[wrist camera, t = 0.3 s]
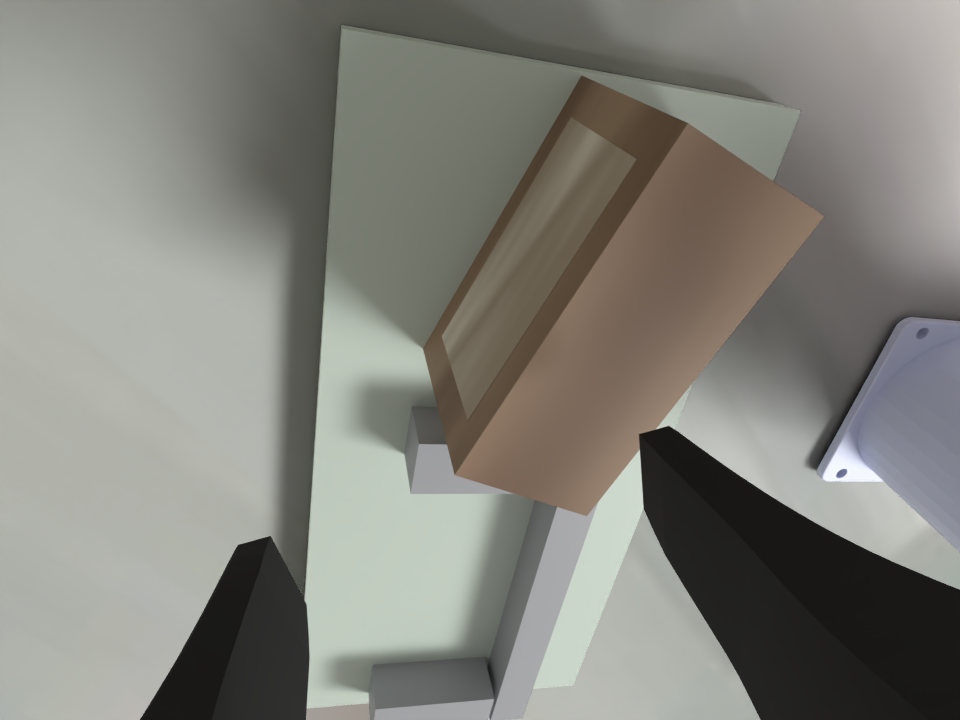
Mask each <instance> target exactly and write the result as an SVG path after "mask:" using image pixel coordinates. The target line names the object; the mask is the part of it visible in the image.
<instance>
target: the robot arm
mask: <svg viewBox="0 0 960 720" xmlns="http://www.w3.org/2000/svg"><path fill="white" fill-rule="evenodd" d="M639 444H640V460H641V475H642V491H643V506H644V510H645V512H646V515H647V517H648V519H649V521H650V524H651V526H652V528H653V530H654V532H655V535H656V537H657V539H658V541H659V543H660V545H661V547H662V549H663V551H664V553H665V555H666V557H667V559H668V560H669V562H670V564H671V565H672V567H673V569H674V570H675V572H676V573H677V575H678V577H679V578H680V580H681V582H682V583H683V585H684V587H685V588H686V590H687V591H688V593H689V595H690V596H691V598H692V599H693V601H694V603H695V604H696V606H697V608H698V609H699V611H700V612H701V614H702V616H703V617H704V619H705V620H706V622H707V624H708V625H709V627H710V628H711V630H712V632H713V633H714V635H715V637H716V638H717V640H718V641H719V643H720V645H721V646H722V648H723V649H724V651H725V653H726V654H727V656H728V658H729V659H730V661H731V663H732V665H733V667H734V668H735V670H736V672H737V674H738V675H739V677H740V679H741V681H742V683H743V685H744V687H745V689H746V691H747V693H748V695H749V697H750V699H751V701H752V703H753V705H754V707H755V709H756V711H757V713H758V715H759V717H760V719H761V720H960V590H959V589H956V588H954V587H951V586H949V585H946V584H944V583H941V582H939V581H936V580H934V579H932V578H929V577H927V576H925V575H922V574H920V573H918V572H915V571H913V570H910V569H908V568H906V567H903V566H901V565H899V564H896V563H894V562H892V561H890V560H887V559H885V558H883V557H881V556H879V555H877V554H874V553H872V552H870V551H868V550H866V549H864V548H862V547H860V546H858V545H856V544H854V543H852V542H850V541H848V540H846V539H844V538H842V537H840V536H838V535H836V534H834V533H833V532H831V531H829V530H827V529H825V528H823V527H822V526H820V525H818V524H816V523H814V522H813V521H811V520H809V519H807V518H806V517H804V516H802V515H801V514H799V513H797V512H796V511H794V510H792V509H791V508H789V507H787V506H785V505H784V504H782V503H781V502H779V501H777V500H776V499H774V498H773V497H771V496H769V495H768V494H766V493H765V492H763V491H762V490H760V489H759V488H757V487H756V486H754V485H753V484H751V483H750V482H748V481H747V480H745V479H744V478H742V477H740V476H739V475H738V474H736V473H735V472H733V471H732V470H730V469H729V468H727V467H726V466H724V465H723V464H722V463H720V462H719V461H717V460H716V459H715V458H713V457H712V456H710V455H709V454H708V453H706V452H705V451H703V450H702V449H701V448H699V447H698V446H697V445H695V444H694V443H692V442H691V441H690V440H688V439H687V438H686V437H684V436H683V435H682V434H680V433H679V432H677V431H676V430H675V429H673V428H672V427H670V426H666V427H663V428H659V429H656V430H652V431H648V432H645V433H641V434H639ZM817 475H818V476H819V477H820V478H821V479H822V480H823V481H877V482H885V483H886V484H887V485H888V486H889V487H890V488H891V489H892V490H893V491H895V492H896V493H897V494H898V495H899V496H900V497H901V498H902V499H903V500H904V501H905V502H906V503H907V504H908V505H910V506H911V507H912V508H913V509H914V510H915V511H916V512H917V513H918V514H919V515H920V516H921V517H922V518H923V519H925V520H926V521H927V522H928V523H929V524H930V525H931V526H932V527H933V528H934V529H935V530H936V531H937V532H938V533H940V534H941V535H942V536H943V537H944V538H945V539H946V540H947V541H948V542H949V543H950V544H951V545H952V546H953V547H955V548H956V549H957V550H958V551H959V552H960V321H953V320H941V319H929V318H917V317H908V318H905V319H903V320H901V321H900V322H899V323H898V324H897V325H896V327H895V328H894V330H893V332H892V334H891V336H890V338H889V339H888V341H887V343H886V345H885V347H884V348H883V350H882V352H881V354H880V356H879V358H878V359H877V361H876V363H875V365H874V367H873V368H872V370H871V372H870V374H869V376H868V378H867V379H866V381H865V383H864V385H863V387H862V388H861V390H860V392H859V394H858V396H857V398H856V399H855V401H854V403H853V405H852V407H851V408H850V410H849V412H848V414H847V416H846V418H845V419H844V421H843V423H842V425H841V427H840V428H839V430H838V432H837V434H836V436H835V438H834V439H833V441H832V443H831V445H830V447H829V448H828V450H827V452H826V454H825V456H824V458H823V459H822V461H821V463H820V465H819V467H818V469H817ZM309 660H310V655H309V632H308V617H307V604H306V602H305V600H304V598H303V596H302V595H301V593H300V591H299V589H298V587H297V585H296V583H295V581H294V579H293V578H292V576H291V574H290V572H289V570H288V568H287V566H286V564H285V562H284V561H283V559H282V557H281V555H280V553H279V551H278V549H277V547H276V545H275V544H274V542H273V540H272V538H271V536H269V537H265V538H262V539H258V540H255V541H251V542H247V543H244V544H240V545H238V546H237V548H236V549H235V551H234V553H233V555H232V557H231V559H230V561H229V563H228V564H227V566H226V568H225V570H224V572H223V574H222V576H221V578H220V580H219V582H218V584H217V586H216V588H215V590H214V592H213V594H212V596H211V598H210V599H209V601H208V603H207V605H206V607H205V609H204V611H203V613H202V615H201V617H200V618H199V620H198V622H197V624H196V626H195V627H194V629H193V631H192V633H191V635H190V637H189V638H188V640H187V642H186V644H185V646H184V647H183V649H182V651H181V653H180V655H179V656H178V658H177V660H176V662H175V663H174V665H173V667H172V668H171V670H170V672H169V673H168V675H167V677H166V678H165V680H164V682H163V683H162V685H161V687H160V688H159V690H158V691H157V693H156V695H155V696H154V698H153V700H152V701H151V703H150V705H149V706H148V708H147V709H146V711H145V713H144V714H143V716H142V717H141V719H140V720H306V709H307V694H308V678H309Z"/></svg>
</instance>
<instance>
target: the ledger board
mask: <svg viewBox="0 0 960 720" xmlns="http://www.w3.org/2000/svg"><path fill="white" fill-rule="evenodd" d="M581 76H584V77H586V78H589V79H591V80H593V81H595V82H598V83H600V84H602V85H604V86H606V87H609V88H611V89H613V90H615V91H618V92H620V93H622V94H624V95H627V96H629V97H631V98H633V99H635V100H638V101H640V102H642V103H644V104H647V105H649V106H651V107H653V108H656V109H658V110H660V111H662V112H664V113H667V114H669V115H671V116H673V117H676V118H678V119H680V120H682V121H685V122H687V123H689V124H690V125H692V126H693V127H695V128H696V129H697V130H699V131H700V132H702V133H703V134H705V135H706V136H708V137H709V138H711V139H712V140H714V141H715V142H717V143H718V144H719V145H721V146H722V147H724V148H725V149H727V150H728V151H730V152H731V153H733V154H734V155H736V156H737V157H738V158H740V159H741V160H743V161H744V162H746V163H747V164H749V165H750V166H752V167H753V168H755V169H756V170H757V171H759V172H760V173H762V174H763V175H765V176H766V177H768V178H769V179H771V180H772V181H774V179H775V176H776V174H777V171H778V169H779V166H780V164H781V161H782V158H783V156H784V153H785V151H786V148H787V146H788V143H789V141H790V138H791V136H792V133H793V131H794V128H795V126H796V123H797V121H798V118H799V116H800V113H801V111H800V110H797V109H794V108H791V107H788V106H784V105H781V104H778V103H773V102H767V101H762V100H756V99H751V98H745V97H740V96H734V95H729V94H723V93H718V92H712V91H706V90H701V89H695V88H690V87H684V86H679V85H673V84H668V83H662V82H656V81H651V80H645V79H640V78H634V77H629V76H623V75H618V74H612V73H607V72H601V71H595V70H590V69H584V68H579V67H573V66H568V65H562V64H557V63H551V62H545V61H540V60H534V59H529V58H523V57H518V56H512V55H507V54H501V53H496V52H490V51H484V50H479V49H473V48H468V47H462V46H457V45H451V44H446V43H440V42H435V41H429V40H423V39H418V38H412V37H407V36H401V35H396V34H390V33H385V32H379V31H373V30H368V29H362V28H357V27H351V26H346V25H341V34H340V50H339V65H338V81H337V96H336V112H335V128H334V143H333V159H332V174H331V190H330V205H329V221H328V236H327V252H326V268H325V283H324V299H323V314H322V330H321V345H320V361H319V376H318V392H317V408H316V423H315V439H314V454H313V470H312V485H311V501H310V516H309V532H308V547H307V563H306V579H305V594H304V600H305V602H306V604H307V617H308V632H309V655H310V660H309V678H308V694H307V708H316V707H327V706H340V705H350V704H351V705H352V704H363V703H369V711H370V720H488V718H489V717H490V720H511V719H521V718H523V716H524V713H525V710H526V707H527V704H528V701H529V699H530V696H531V693H532V690H533V689H538V688H549V687H561V686H572V685H573V684H574V682H575V679H576V677H577V674H578V672H579V669H580V666H581V664H582V661H583V659H584V656H585V654H586V651H587V649H588V646H589V644H590V641H591V639H592V636H593V634H594V631H595V629H596V626H597V624H598V621H599V619H600V616H601V614H602V611H603V609H604V606H605V604H606V601H607V599H608V596H609V594H610V591H611V589H612V586H613V583H614V581H615V578H616V576H617V573H618V571H619V568H620V566H621V563H622V561H623V558H624V556H625V553H626V551H627V548H628V546H629V543H630V541H631V538H632V536H633V533H634V531H635V528H636V526H637V523H638V521H639V518H640V516H641V513H642V511H643V508H644V506H643V491H642V475H641V460H640V450H639V451H638V452H637V454H636V455H635V456H634V457H633V459H632V460H631V461H630V462H629V464H628V465H627V466H626V468H625V469H624V470H623V471H622V473H621V474H620V475H619V476H618V478H617V479H616V480H615V481H614V483H613V484H612V485H611V486H610V488H609V489H608V490H607V492H606V493H605V494H604V495H603V497H602V498H601V499H600V500H599V502H598V503H597V504H596V505H595V507H594V508H593V509H592V510H591V512H590V513H589V514H588V515H587V516H584V515H581V514H578V513H575V512H572V511H568V510H565V509H562V508H559V507H555V506H552V505H549V504H546V503H542V502H539V501H536V500H533V499H530V498H526V497H523V496H520V495H517V494H513V493H510V492H507V491H504V490H501V489H497V488H494V487H491V486H488V485H484V484H481V483H478V482H475V481H472V480H468V479H465V478H462V477H459V476H455V475H454V471H453V467H452V463H451V459H450V455H449V451H448V447H447V443H446V439H445V435H444V431H443V427H442V423H441V419H440V415H439V411H438V407H437V403H436V399H435V395H434V391H433V387H432V383H431V379H430V375H429V371H428V367H427V363H426V359H425V355H424V351H423V347H424V346H425V344H426V342H427V341H428V339H429V337H430V335H431V334H432V332H433V330H434V328H435V327H436V325H437V323H438V322H439V320H440V318H441V316H442V315H443V313H444V311H445V310H446V308H447V306H448V304H449V303H450V301H451V299H452V297H453V296H454V294H455V292H456V291H457V289H458V287H459V285H460V284H461V282H462V280H463V279H464V277H465V275H466V273H467V272H468V270H469V268H470V267H471V265H472V263H473V261H474V260H475V258H476V256H477V254H478V253H479V251H480V249H481V248H482V246H483V244H484V242H485V241H486V239H487V237H488V236H489V234H490V232H491V230H492V229H493V227H494V225H495V224H496V222H497V220H498V218H499V217H500V215H501V213H502V211H503V210H504V208H505V206H506V205H507V203H508V201H509V199H510V198H511V196H512V194H513V193H514V191H515V189H516V187H517V186H518V184H519V182H520V181H521V179H522V177H523V175H524V174H525V172H526V170H527V168H528V167H529V165H530V163H531V162H532V160H533V158H534V156H535V155H536V153H537V151H538V150H539V148H540V146H541V144H542V143H543V141H544V139H545V138H546V136H547V134H548V132H549V131H550V129H551V127H552V125H553V124H554V122H555V120H556V119H557V117H558V115H559V113H560V112H561V110H562V108H563V107H564V105H565V103H566V101H567V100H568V98H569V96H570V94H571V93H572V91H573V89H574V88H575V86H576V84H577V82H578V81H579V79H580V77H581ZM692 385H693V383H692V384H691V385H690V387H689V388H688V389H687V391H686V392H685V393H684V394H683V396H682V397H681V398H680V399H679V401H678V402H677V403H676V404H675V406H674V407H673V408H672V409H671V411H670V412H669V413H668V415H667V416H666V417H665V418H664V420H663V421H662V422H661V423H660V425H659V426H658V427H657V428H656V429H659V428H663V427H666V426H670V427H672V428H673V429H675V428H676V425H677V423H678V420H679V418H680V415H681V412H682V410H683V407H684V405H685V402H686V400H687V397H688V395H689V392H690V390H691V387H692Z"/></svg>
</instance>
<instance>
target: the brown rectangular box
mask: <svg viewBox="0 0 960 720" xmlns="http://www.w3.org/2000/svg"><path fill="white" fill-rule="evenodd" d="M823 218H824V216H823V215H822V214H820V213H819V212H817V211H816V210H814V209H813V208H812V207H810V206H809V205H807V204H806V203H804V202H803V201H801V200H800V199H798V198H797V197H795V196H794V195H793V194H791V193H790V192H788V191H787V190H785V189H784V188H782V187H781V186H779V185H778V184H776V183H775V182H774V181H772V180H771V179H769V178H768V177H766V176H765V175H763V174H762V173H760V172H759V171H757V170H756V169H755V168H753V167H752V166H750V165H749V164H747V163H746V162H744V161H743V160H741V159H740V158H738V157H737V156H736V155H734V154H733V153H731V152H730V151H728V150H727V149H725V148H724V147H722V146H721V145H719V144H718V143H717V142H715V141H714V140H712V139H711V138H709V137H708V136H706V135H705V134H703V133H702V132H700V131H699V130H697V129H696V128H695V127H693V126H692V125H690V124H689V123H687V122H685V121H682V120H680V119H678V118H676V117H673V116H671V115H669V114H667V113H664V112H662V111H660V110H658V109H656V108H653V107H651V106H649V105H647V104H644V103H642V102H640V101H638V100H635V99H633V98H631V97H629V96H627V95H624V94H622V93H620V92H618V91H615V90H613V89H611V88H609V87H606V86H604V85H602V84H600V83H598V82H595V81H593V80H591V79H589V78H586V77H584V76H581V77H580V79H579V81H578V82H577V84H576V86H575V88H574V89H573V91H572V93H571V94H570V96H569V98H568V100H567V101H566V103H565V105H564V107H563V108H562V110H561V112H560V113H559V115H558V117H557V119H556V120H555V122H554V124H553V125H552V127H551V129H550V131H549V132H548V134H547V136H546V138H545V139H544V141H543V143H542V144H541V146H540V148H539V150H538V151H537V153H536V155H535V156H534V158H533V160H532V162H531V163H530V165H529V167H528V168H527V170H526V172H525V174H524V175H523V177H522V179H521V181H520V182H519V184H518V186H517V187H516V189H515V191H514V193H513V194H512V196H511V198H510V199H509V201H508V203H507V205H506V206H505V208H504V210H503V211H502V213H501V215H500V217H499V218H498V220H497V222H496V224H495V225H494V227H493V229H492V230H491V232H490V234H489V236H488V237H487V239H486V241H485V242H484V244H483V246H482V248H481V249H480V251H479V253H478V254H477V256H476V258H475V260H474V261H473V263H472V265H471V267H470V268H469V270H468V272H467V273H466V275H465V277H464V279H463V280H462V282H461V284H460V285H459V287H458V289H457V291H456V292H455V294H454V296H453V297H452V299H451V301H450V303H449V304H448V306H447V308H446V310H445V311H444V313H443V315H442V316H441V318H440V320H439V322H438V323H437V325H436V327H435V328H434V330H433V332H432V334H431V335H430V337H429V339H428V341H427V342H426V344H425V346H424V347H423V351H424V355H425V359H426V363H427V367H428V371H429V375H430V379H431V383H432V387H433V391H434V395H435V399H436V403H437V407H438V411H439V415H440V419H441V423H442V427H443V431H444V435H445V439H446V443H447V447H448V451H449V455H450V459H451V463H452V467H453V471H454V475H455V476H459V477H462V478H465V479H468V480H472V481H475V482H478V483H481V484H484V485H488V486H491V487H494V488H497V489H501V490H504V491H507V492H510V493H513V494H517V495H520V496H523V497H526V498H530V499H533V500H536V501H539V502H542V503H546V504H549V505H552V506H555V507H559V508H562V509H565V510H568V511H572V512H575V513H578V514H581V515H584V516H587V515H588V514H589V513H590V512H591V510H592V509H593V508H594V507H595V505H596V504H597V503H598V502H599V500H600V499H601V498H602V497H603V495H604V494H605V493H606V492H607V490H608V489H609V488H610V486H611V485H612V484H613V483H614V481H615V480H616V479H617V478H618V476H619V475H620V474H621V473H622V471H623V470H624V469H625V468H626V466H627V465H628V464H629V462H630V461H631V460H632V459H633V457H634V456H635V455H636V454H637V452H638V451H639V450H640V444H639V434H641V433H645V432H648V431H652V430H656V428H657V427H658V426H659V425H660V423H661V422H662V421H663V420H664V418H665V417H666V416H667V415H668V413H669V412H670V411H671V409H672V408H673V407H674V406H675V404H676V403H677V402H678V401H679V399H680V398H681V397H682V396H683V394H684V393H685V392H686V391H687V389H688V388H689V387H690V385H691V384H692V383H693V382H694V380H695V379H696V378H697V377H698V375H699V374H700V373H701V372H702V370H703V369H704V368H705V367H706V365H707V364H708V363H709V362H710V360H711V359H712V358H713V356H714V355H715V354H716V353H717V351H718V350H719V349H720V348H721V346H722V345H723V344H724V343H725V341H726V340H727V339H728V338H729V336H730V335H731V334H732V332H733V331H734V330H735V329H736V327H737V326H738V325H739V324H740V322H741V321H742V320H743V319H744V317H745V316H746V315H747V314H748V312H749V311H750V310H751V309H752V307H753V306H754V305H755V303H756V302H757V301H758V300H759V298H760V297H761V296H762V295H763V293H764V292H765V291H766V290H767V288H768V287H769V286H770V285H771V283H772V282H773V281H774V279H775V278H776V277H777V276H778V274H779V273H780V272H781V271H782V269H783V268H784V267H785V266H786V264H787V263H788V262H789V261H790V259H791V258H792V257H793V255H794V254H795V253H796V252H797V250H798V249H799V248H800V247H801V245H802V244H803V243H804V242H805V240H806V239H807V238H808V237H809V235H810V234H811V233H812V232H813V230H814V229H815V228H816V226H817V225H818V224H819V223H820V221H821V220H822V219H823Z"/></svg>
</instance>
